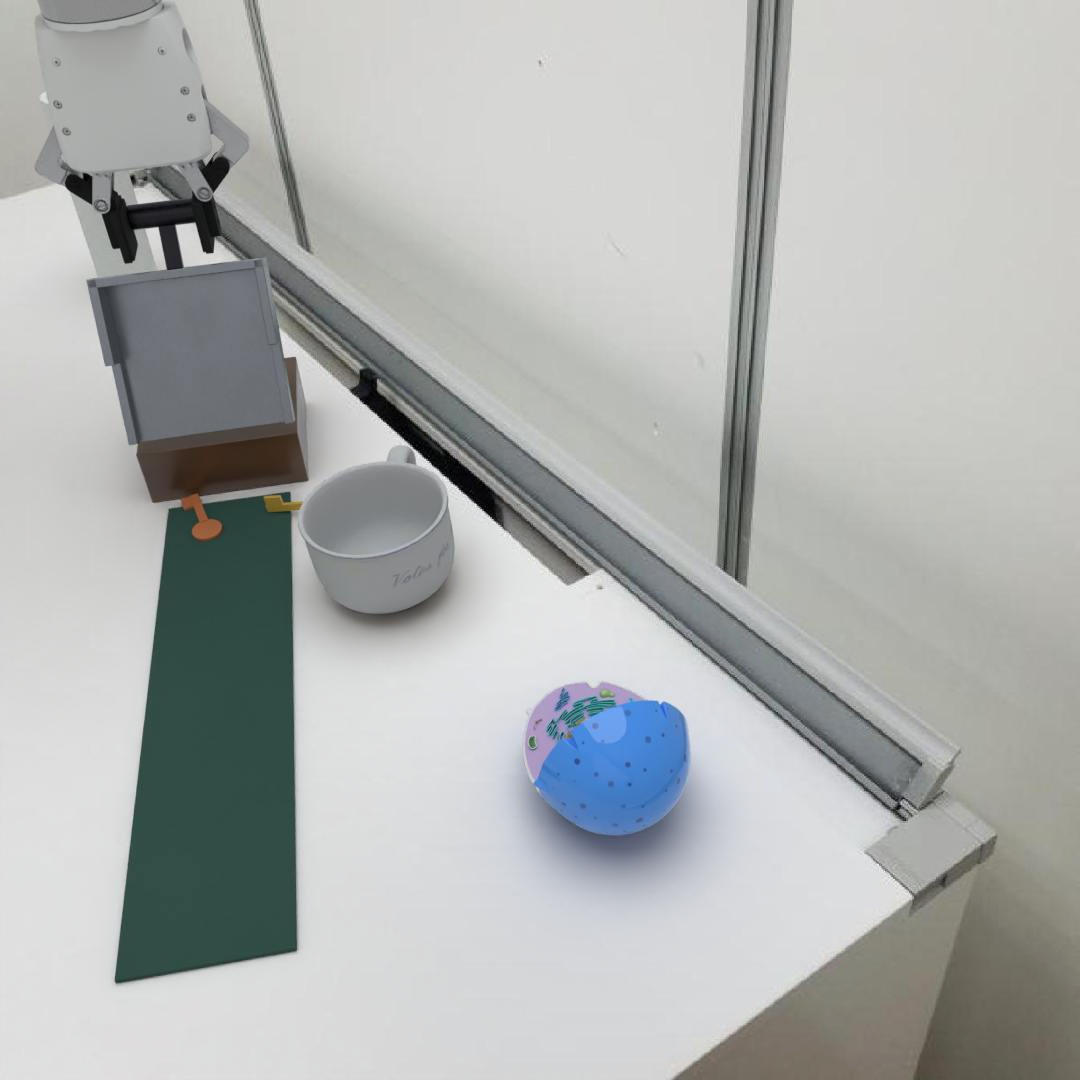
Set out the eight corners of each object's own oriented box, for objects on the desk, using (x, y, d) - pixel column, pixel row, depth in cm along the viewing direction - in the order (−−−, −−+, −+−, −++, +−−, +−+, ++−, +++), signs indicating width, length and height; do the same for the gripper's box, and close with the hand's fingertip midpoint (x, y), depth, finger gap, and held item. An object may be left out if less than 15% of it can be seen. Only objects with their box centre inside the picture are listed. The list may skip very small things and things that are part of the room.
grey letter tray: (83, 212, 88) (68, 211, 84) (255, 192, 89) (249, 190, 85) (133, 442, 92) (121, 451, 88) (295, 419, 94) (291, 428, 90)
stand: (163, 421, 105) (148, 375, 102) (305, 402, 106) (295, 356, 103) (152, 502, 96) (135, 454, 93) (308, 480, 97) (297, 432, 94)
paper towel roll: (139, 307, 121) (76, 104, 107) (92, 299, 123) (24, 99, 109) (178, 275, 126) (123, 77, 112) (133, 268, 128) (72, 72, 114)
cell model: (633, 699, 77) (634, 597, 71) (719, 838, 69) (729, 736, 63) (494, 746, 75) (483, 645, 69) (566, 897, 66) (560, 797, 60)
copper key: (195, 542, 91) (196, 544, 91) (225, 532, 92) (226, 535, 92) (179, 498, 95) (180, 501, 96) (207, 490, 96) (208, 492, 96)
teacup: (422, 649, 82) (409, 566, 77) (289, 617, 85) (267, 535, 80) (495, 528, 91) (487, 447, 86) (373, 502, 95) (359, 423, 89)
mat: (169, 511, 95) (168, 508, 95) (290, 494, 96) (290, 491, 96) (115, 983, 64) (114, 980, 64) (297, 950, 65) (295, 947, 64)
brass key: (335, 490, 92) (334, 493, 92) (343, 513, 94) (342, 516, 93) (262, 495, 93) (261, 497, 93) (271, 518, 95) (270, 520, 94)
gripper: (233, -38, 77) (285, 215, 89) (-29, -13, 76) (60, 242, 88) (230, -7, 72) (286, 259, 84) (-53, 22, 70) (46, 289, 82)
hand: (170, 248), depth 86 cm, fingers closed on grey letter tray, 5 cm apart
